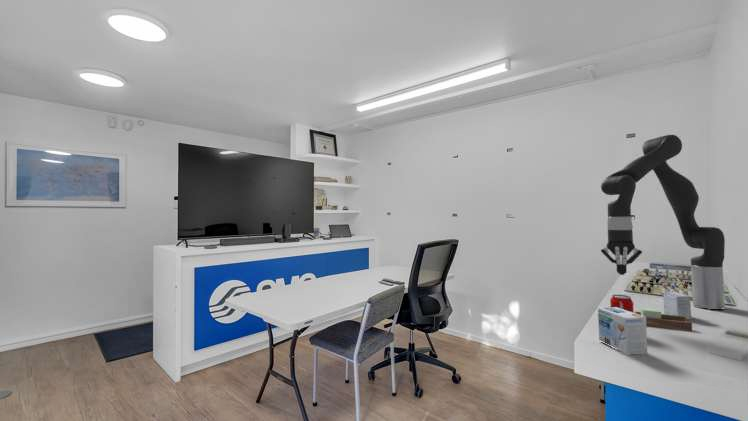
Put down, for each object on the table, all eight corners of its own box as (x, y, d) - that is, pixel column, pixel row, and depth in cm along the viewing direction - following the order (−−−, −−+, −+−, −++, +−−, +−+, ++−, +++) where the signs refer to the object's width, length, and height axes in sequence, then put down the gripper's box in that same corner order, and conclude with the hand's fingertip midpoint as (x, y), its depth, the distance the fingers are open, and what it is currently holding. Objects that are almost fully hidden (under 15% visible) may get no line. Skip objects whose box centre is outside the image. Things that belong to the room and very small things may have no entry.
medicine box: (692, 320, 120) (690, 296, 121) (677, 319, 121) (676, 296, 121) (676, 313, 128) (675, 291, 128) (663, 313, 129) (662, 291, 129)
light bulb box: (598, 341, 103) (596, 307, 103) (617, 340, 104) (616, 306, 104) (627, 356, 93) (625, 317, 93) (649, 354, 93) (647, 316, 93)
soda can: (630, 329, 113) (628, 294, 113) (638, 335, 107) (636, 299, 107) (608, 327, 115) (607, 293, 115) (615, 334, 109) (613, 298, 109)
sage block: (641, 320, 122) (640, 306, 122) (658, 322, 119) (657, 308, 120) (643, 324, 118) (643, 310, 118) (661, 326, 115) (661, 312, 115)
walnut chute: (635, 318, 124) (634, 311, 124) (684, 323, 117) (684, 316, 117) (639, 324, 117) (639, 317, 117) (692, 330, 110) (691, 323, 110)
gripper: (640, 228, 123) (642, 274, 123) (597, 228, 130) (599, 271, 130) (644, 229, 117) (646, 277, 116) (599, 229, 124) (601, 274, 123)
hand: (621, 274), depth 123 cm, fingers closed
